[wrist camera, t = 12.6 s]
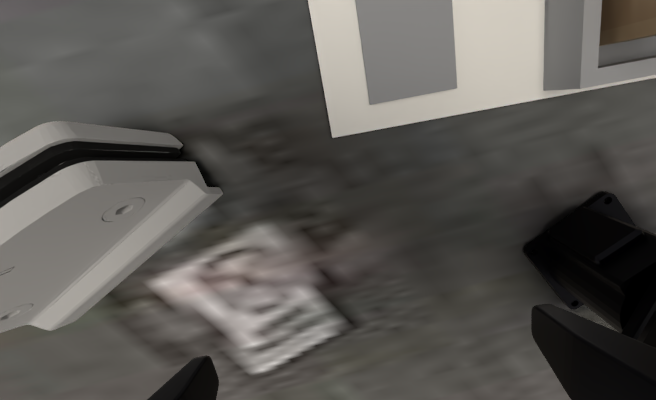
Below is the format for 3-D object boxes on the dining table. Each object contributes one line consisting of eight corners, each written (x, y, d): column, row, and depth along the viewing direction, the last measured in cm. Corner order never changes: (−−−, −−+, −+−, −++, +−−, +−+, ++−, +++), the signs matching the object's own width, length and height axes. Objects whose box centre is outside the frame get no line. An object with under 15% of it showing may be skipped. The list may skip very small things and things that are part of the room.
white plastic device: (72, 323, 24) (-149, 414, 14) (41, 273, 25) (-193, 327, 15) (228, 190, 21) (80, 189, 11) (189, 134, 21) (14, 88, 12)
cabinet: (734, 61, 19) (826, 52, 15) (332, 136, 20) (332, 143, 16) (768, -129, 16) (889, -193, 12) (303, -28, 17) (296, -60, 14)
